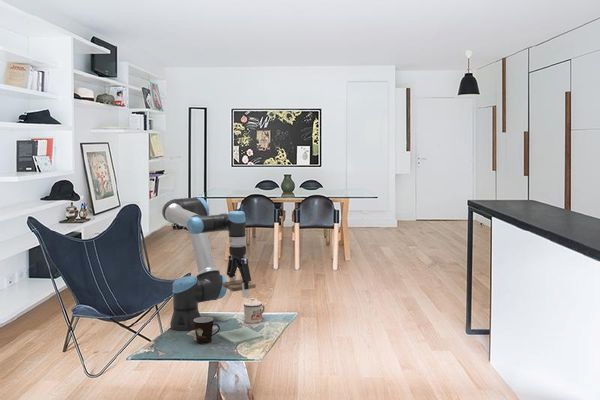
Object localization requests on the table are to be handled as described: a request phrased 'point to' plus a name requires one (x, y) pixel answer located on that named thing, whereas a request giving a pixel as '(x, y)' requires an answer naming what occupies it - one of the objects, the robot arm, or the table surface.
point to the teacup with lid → (253, 311)
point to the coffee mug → (204, 329)
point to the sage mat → (240, 335)
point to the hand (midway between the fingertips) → (239, 293)
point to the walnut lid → (237, 285)
